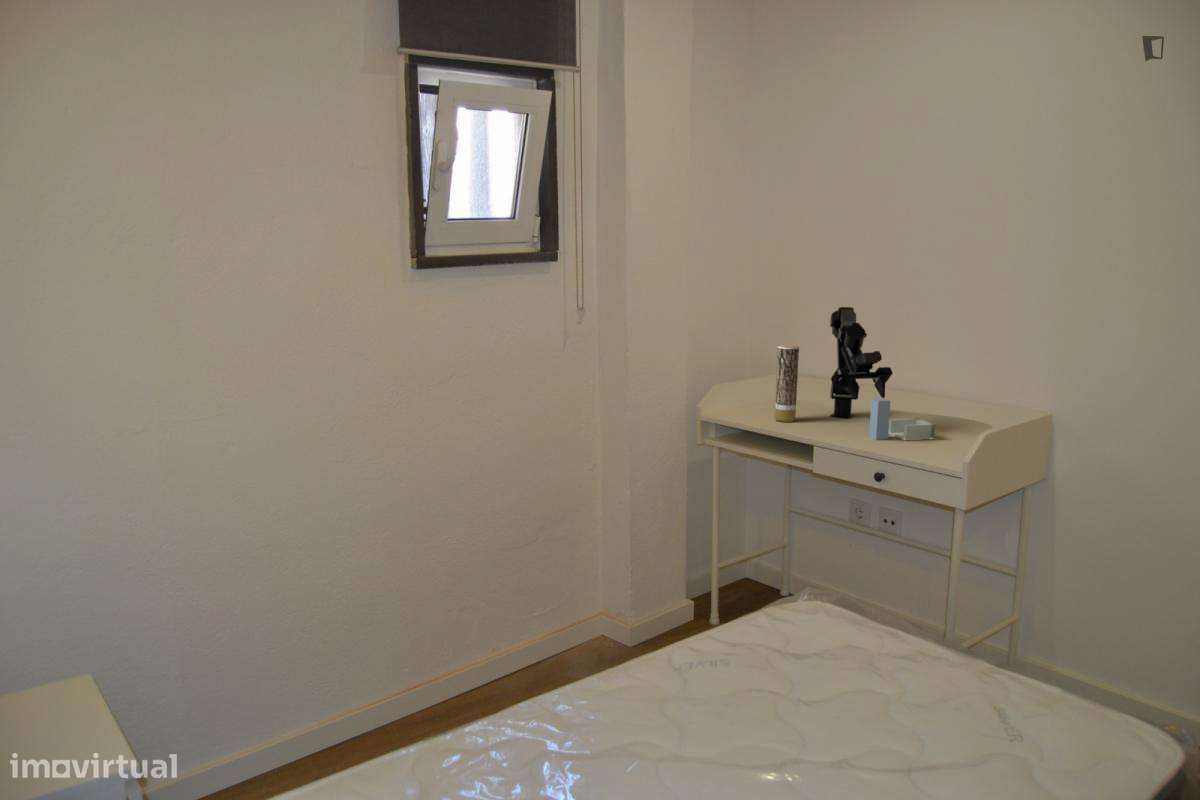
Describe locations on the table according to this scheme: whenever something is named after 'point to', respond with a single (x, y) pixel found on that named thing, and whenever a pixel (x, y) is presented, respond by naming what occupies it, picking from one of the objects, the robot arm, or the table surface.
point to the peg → (879, 418)
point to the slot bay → (911, 429)
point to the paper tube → (786, 383)
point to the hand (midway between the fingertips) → (870, 397)
